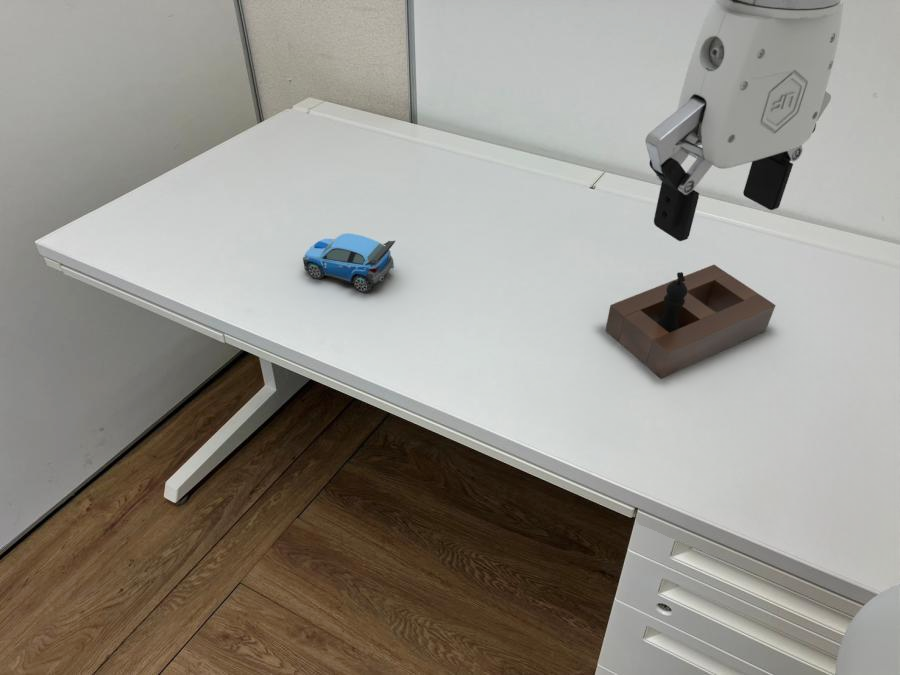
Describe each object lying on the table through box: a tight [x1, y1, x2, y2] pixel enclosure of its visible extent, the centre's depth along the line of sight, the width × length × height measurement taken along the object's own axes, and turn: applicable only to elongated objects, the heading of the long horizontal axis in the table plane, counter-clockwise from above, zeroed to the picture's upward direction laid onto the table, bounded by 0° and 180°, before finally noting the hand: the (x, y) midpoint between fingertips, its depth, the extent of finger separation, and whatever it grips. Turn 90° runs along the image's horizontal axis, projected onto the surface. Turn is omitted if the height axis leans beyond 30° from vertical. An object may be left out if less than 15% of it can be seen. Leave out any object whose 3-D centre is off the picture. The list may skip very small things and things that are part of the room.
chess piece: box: [657, 271, 687, 333], centre depth 81 cm, size 4×4×10 cm
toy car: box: [302, 232, 396, 293], centre depth 92 cm, size 6×12×6 cm, turn 67°
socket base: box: [605, 264, 776, 380], centre depth 84 cm, size 10×17×4 cm, turn 120°
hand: (716, 217), depth 55 cm, fingers open, 9 cm apart
